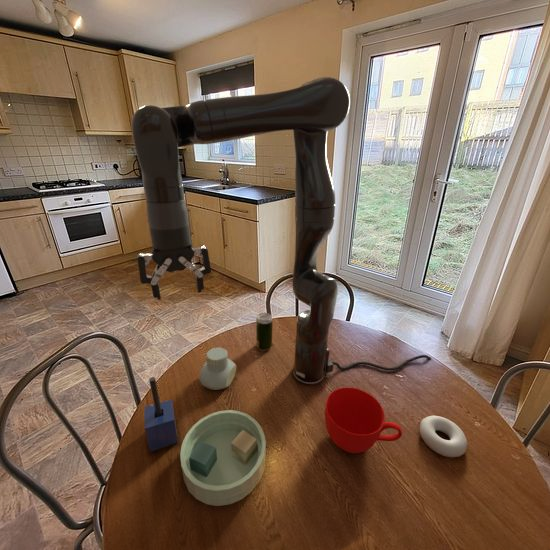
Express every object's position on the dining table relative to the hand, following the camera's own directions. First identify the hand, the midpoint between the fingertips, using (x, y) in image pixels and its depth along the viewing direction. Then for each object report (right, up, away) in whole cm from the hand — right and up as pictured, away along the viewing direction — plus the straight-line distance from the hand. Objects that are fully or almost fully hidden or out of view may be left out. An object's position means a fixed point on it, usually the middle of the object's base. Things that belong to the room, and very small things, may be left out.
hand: (179, 294), depth 65 cm
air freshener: (+5, -27, +21) cm, 34 cm away
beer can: (+17, -20, +36) cm, 45 cm away
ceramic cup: (+41, -35, +4) cm, 54 cm away
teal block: (+6, -36, -2) cm, 37 cm away
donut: (+61, -35, +5) cm, 71 cm away
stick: (-5, -34, +4) cm, 35 cm away
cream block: (+14, -35, +1) cm, 38 cm away
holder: (-5, -34, +4) cm, 35 cm away
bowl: (+10, -37, -1) cm, 38 cm away
